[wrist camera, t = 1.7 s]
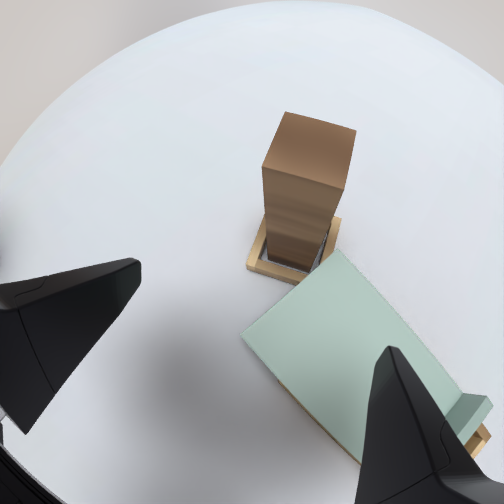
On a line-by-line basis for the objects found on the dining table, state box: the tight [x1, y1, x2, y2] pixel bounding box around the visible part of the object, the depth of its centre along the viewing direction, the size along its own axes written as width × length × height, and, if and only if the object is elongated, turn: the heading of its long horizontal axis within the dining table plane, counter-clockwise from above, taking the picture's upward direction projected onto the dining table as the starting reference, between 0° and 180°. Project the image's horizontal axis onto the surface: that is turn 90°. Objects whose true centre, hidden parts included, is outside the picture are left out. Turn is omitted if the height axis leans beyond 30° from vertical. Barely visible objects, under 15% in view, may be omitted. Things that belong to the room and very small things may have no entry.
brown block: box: [262, 112, 356, 273], centre depth 18 cm, size 4×4×13 cm
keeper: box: [246, 214, 342, 285], centre depth 24 cm, size 6×6×2 cm
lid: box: [240, 248, 493, 463], centre depth 15 cm, size 9×16×4 cm, turn 40°
